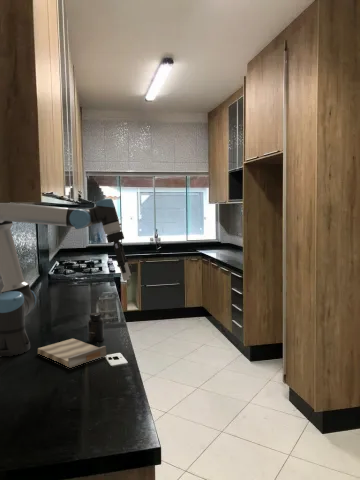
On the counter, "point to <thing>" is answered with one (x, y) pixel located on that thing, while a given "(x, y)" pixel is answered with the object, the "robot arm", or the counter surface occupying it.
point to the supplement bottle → (95, 328)
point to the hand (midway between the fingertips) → (127, 278)
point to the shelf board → (72, 352)
